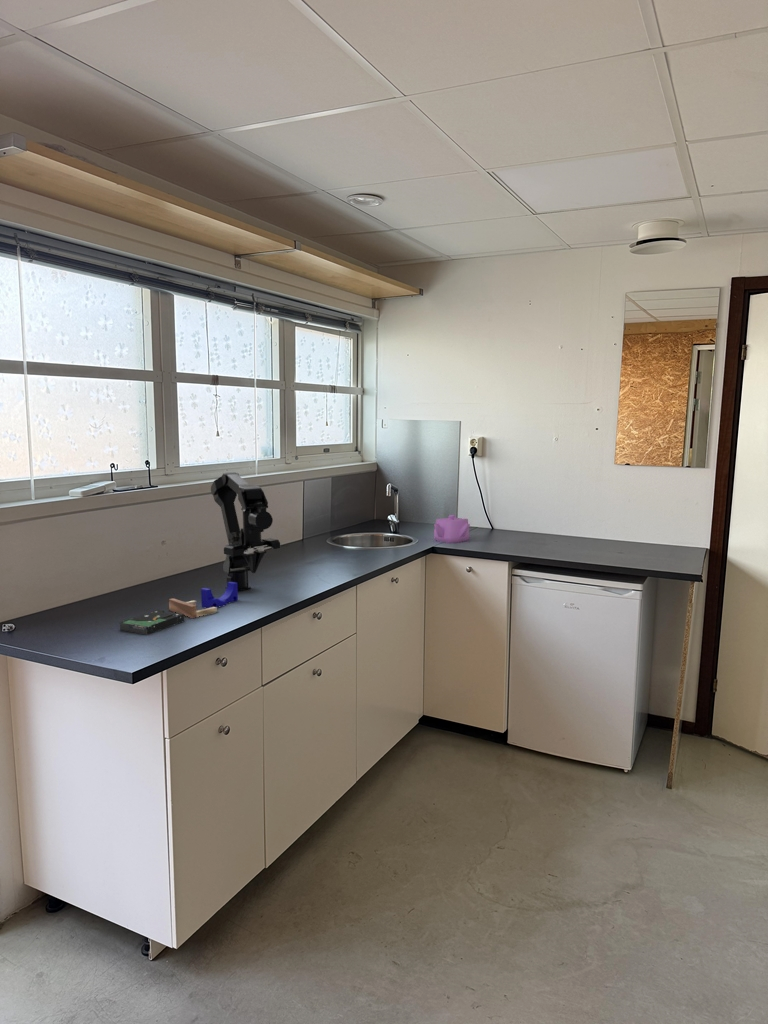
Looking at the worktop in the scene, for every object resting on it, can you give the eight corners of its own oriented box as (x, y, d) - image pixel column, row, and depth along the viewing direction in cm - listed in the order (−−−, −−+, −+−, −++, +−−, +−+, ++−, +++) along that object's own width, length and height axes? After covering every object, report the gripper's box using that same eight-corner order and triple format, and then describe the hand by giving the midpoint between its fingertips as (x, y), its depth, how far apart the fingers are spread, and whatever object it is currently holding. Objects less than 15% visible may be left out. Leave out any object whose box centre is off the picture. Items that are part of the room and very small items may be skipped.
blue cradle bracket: (211, 609, 215) (210, 590, 214) (201, 607, 217) (200, 588, 216) (241, 601, 224) (240, 583, 223) (231, 599, 227) (231, 581, 226)
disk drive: (158, 618, 207) (119, 631, 194) (157, 609, 206) (118, 621, 193) (185, 622, 202) (147, 636, 189) (184, 613, 202) (146, 626, 189)
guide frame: (193, 604, 219) (193, 594, 219) (217, 612, 211) (216, 601, 210) (169, 610, 213) (168, 599, 213) (192, 618, 205) (191, 606, 204)
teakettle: (468, 537, 343) (468, 512, 342) (470, 543, 326) (470, 517, 325) (433, 537, 344) (433, 512, 343) (433, 543, 327) (433, 517, 326)
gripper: (260, 520, 238) (261, 565, 240) (213, 526, 224) (214, 573, 226) (280, 523, 230) (282, 569, 232) (233, 529, 217) (234, 579, 219)
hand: (253, 572), depth 227 cm, fingers closed
